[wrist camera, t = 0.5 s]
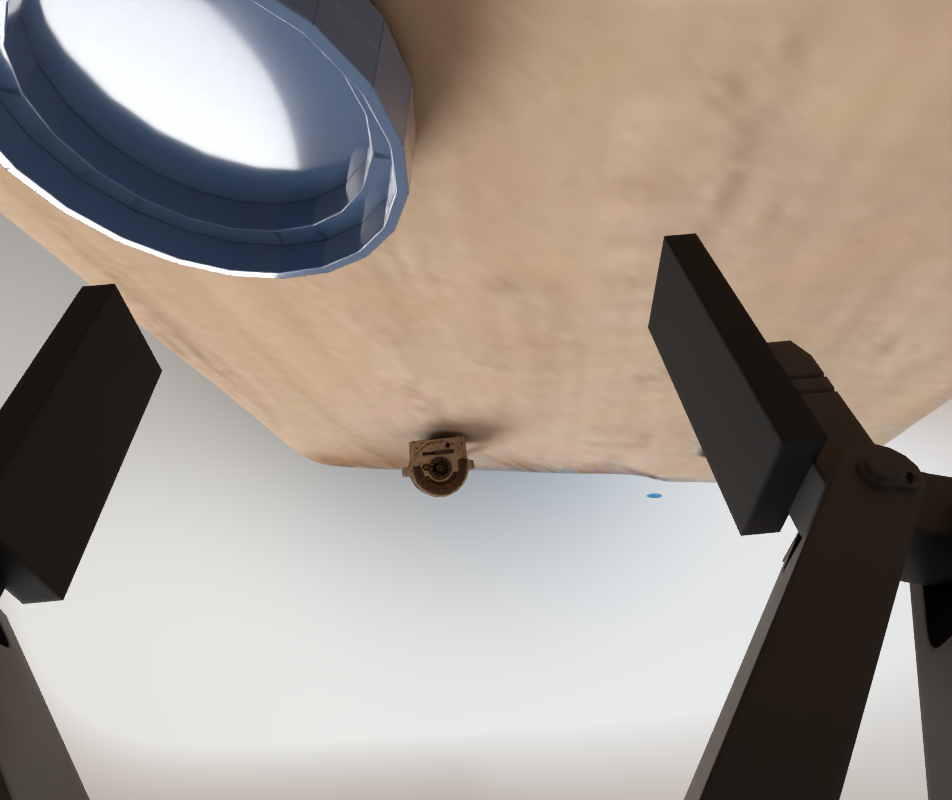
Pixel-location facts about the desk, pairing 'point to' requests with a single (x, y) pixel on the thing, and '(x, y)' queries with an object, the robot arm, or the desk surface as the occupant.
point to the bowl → (212, 126)
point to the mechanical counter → (438, 465)
